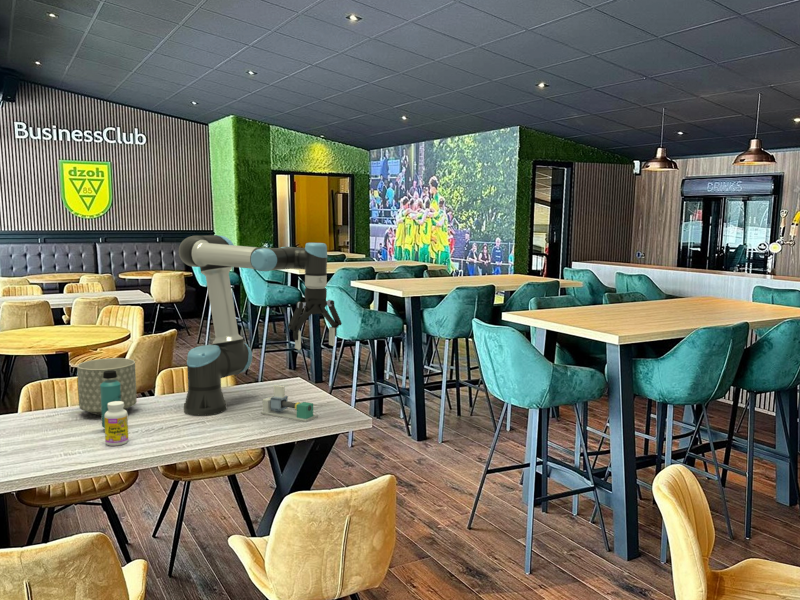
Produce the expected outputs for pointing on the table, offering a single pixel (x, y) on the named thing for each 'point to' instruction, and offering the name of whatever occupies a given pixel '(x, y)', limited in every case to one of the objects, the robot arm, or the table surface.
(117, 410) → the supplement bottle
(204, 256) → the robot arm
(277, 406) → the pale blue hollow box
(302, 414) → the slider rail
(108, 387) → the beverage bottle
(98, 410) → the planter
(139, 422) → the table surface
